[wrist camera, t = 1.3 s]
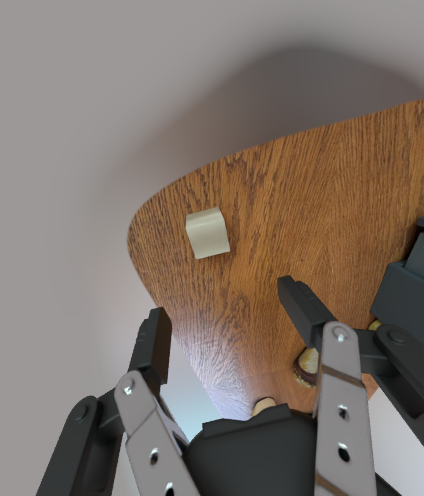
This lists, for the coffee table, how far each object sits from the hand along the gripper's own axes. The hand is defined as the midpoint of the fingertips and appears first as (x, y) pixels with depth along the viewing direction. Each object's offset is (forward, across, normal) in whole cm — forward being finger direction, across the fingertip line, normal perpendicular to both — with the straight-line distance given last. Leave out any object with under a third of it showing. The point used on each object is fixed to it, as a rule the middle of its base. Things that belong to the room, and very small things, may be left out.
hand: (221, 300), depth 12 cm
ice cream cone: (+12, -18, +33) cm, 40 cm away
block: (+13, 0, 0) cm, 13 cm away
